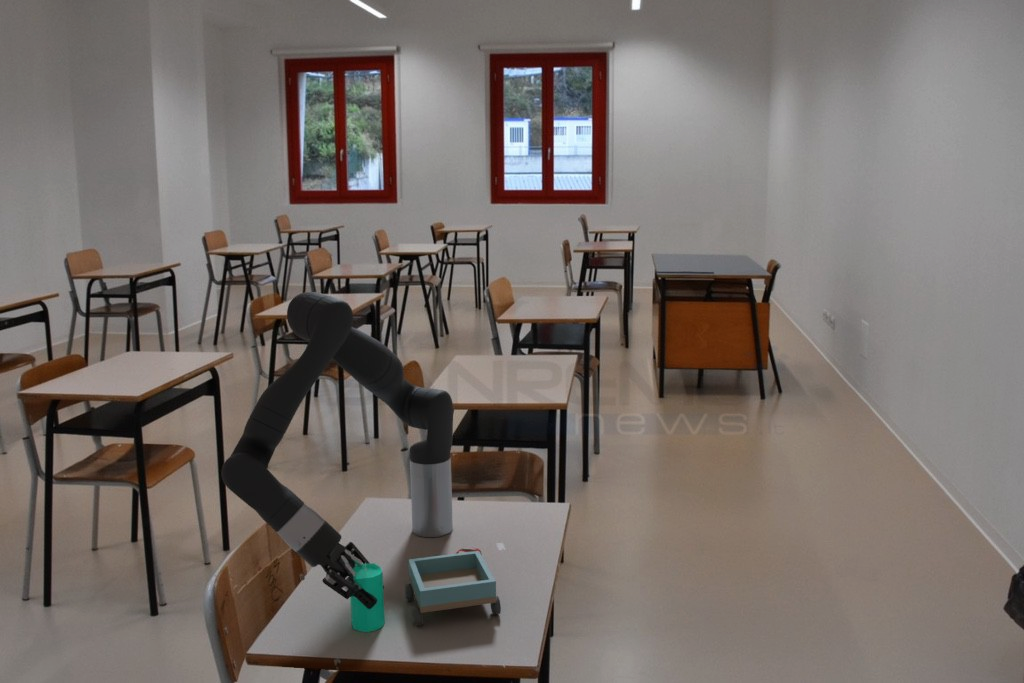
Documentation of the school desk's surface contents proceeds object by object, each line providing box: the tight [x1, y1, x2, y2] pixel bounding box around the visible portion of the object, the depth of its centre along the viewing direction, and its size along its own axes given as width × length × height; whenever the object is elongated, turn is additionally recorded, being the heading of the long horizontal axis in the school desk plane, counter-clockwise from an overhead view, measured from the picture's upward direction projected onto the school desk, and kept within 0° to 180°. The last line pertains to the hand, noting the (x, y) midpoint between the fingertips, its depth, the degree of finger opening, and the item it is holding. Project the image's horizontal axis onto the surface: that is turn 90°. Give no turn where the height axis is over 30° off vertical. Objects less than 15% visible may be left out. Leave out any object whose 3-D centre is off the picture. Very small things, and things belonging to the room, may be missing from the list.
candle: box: [349, 562, 386, 633], centre depth 172 cm, size 6×6×12 cm
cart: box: [404, 551, 502, 626], centre depth 178 cm, size 14×16×7 cm
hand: (377, 597), depth 172 cm, fingers closed on candle, 4 cm apart
